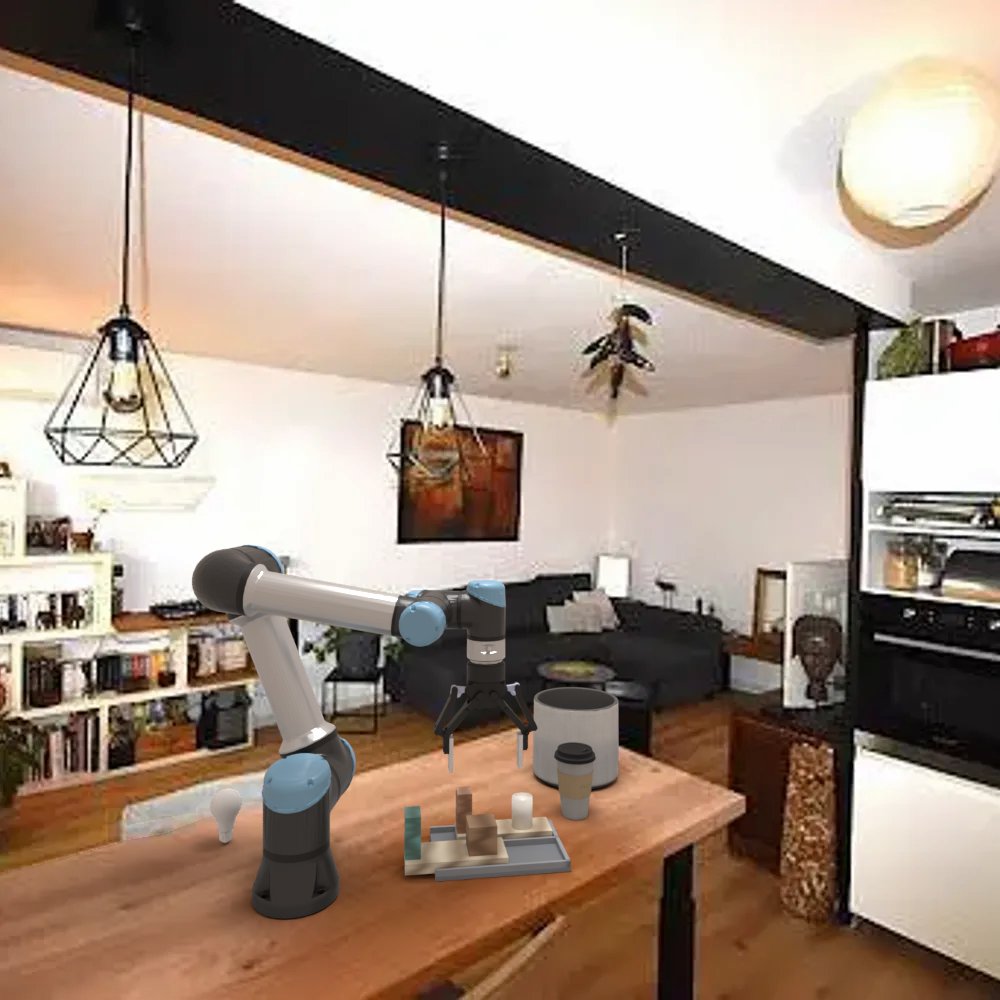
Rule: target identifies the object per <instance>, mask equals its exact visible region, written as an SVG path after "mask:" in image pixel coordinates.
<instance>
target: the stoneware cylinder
mask: <svg viewBox="0 0 1000 1000" xmlns="http://www.w3.org/2000/svg"><path fill="white" fill-rule="evenodd" d="M533 798H534V797H533V795H532V794H531V793H529V792H525V791H524V792H523V791H522V792H521V791H520V792H516V793H513V794H512V795H511V819H512V827H513V828H515V829H517V830H528V829H530V828H532V826H533V818H534V816H533V813H534V812H533V808H534V807H533V806H534V803H533V801H534V799H533Z"/></svg>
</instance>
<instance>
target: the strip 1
mask: <svg viewBox="0 0 1000 1000" xmlns="http://www.w3.org/2000/svg"><path fill="white" fill-rule="evenodd" d="M403 832H404V833H403V834H404V838H403V839H404V840H403V841H404V842H403V844H404V845H403V846H404V847H403V853H404V854H403V857H404V860H403V861H404V876H418V875H428V874H432V875H433V874H434V873H435V869H443V868H457V867H471V866H485V865H499V864H508V854H507V851H506V848H505V845H504V842H503V839H502V837H497V855H486V856H471V857H469V855H468V850H467V845H466V840H452V841H437V842H431V841H424V842H422V813H421V806H420V805H416V806H404V831H403Z"/></svg>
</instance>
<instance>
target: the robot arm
mask: <svg viewBox="0 0 1000 1000" xmlns="http://www.w3.org/2000/svg"><path fill="white" fill-rule="evenodd" d="M191 576H192V577H191V588H192V590H193V593H194V595H195V597H196V600H197V601H199V602H200V604H201V605H203V606H204V607H206V608H207V609H209V610H211V611H215V612H218V613H219V612H220V613H225V615H226V617H227V620H228V623H230V624H232V625H235V626H237V627H239V629H240V631H241V634H242V637H243V639H244V641H245V644H246V646H247V649H248V651H249V655H250V657H251V660H252V662H253V665H254V667H255V671H256V673H257V675H258V678H259V681H260V683H261V685H262V688H263V691H264V694H265V697H266V699H267V701H268V704H269V706H270V709H271V712H272V716H273V717H274V719H275V723H276V725H277V728H278V731H279V732H280V735H281V737H282V742H281V744H280V747H279V750H278V754H279V756H280V759H277V760H276V761H275V762H274V763H272V764H271V765H270V766H269V767H268V768H267V769H266V771H265V773H264V776H263V784H262V788H261V789H262V790H261V797H262V857H261V860H260V862H259V863H260V864H259V866H258V869H257V872H256V875H255V877H254V880H253V881H254V882H253V884H252V888H251V889H252V890H251V903H252V907H253V908H254V909H255V911H256V912H257V913H259V914H261V915H262V916H265V917H268V918H274V919H285V920H286V919H297V918H301V917H306V916H310V915H312V914H315V913H317V912H320V911H322V910H323V909H325V908H327V907H329V906H330V905H331V904H332V903H333V902H335V900H336V899H337V898H338V896H339V894H340V874H339V870H338V868H337V865H336V862H335V858H334V855H333V853H332V851H331V839H330V838H331V812H332V811H333V809H334V808H335V806H336V805H337V803H338V802H339V800H340V799H341V797H342V796H343V795H344V794H345V793H346V791H347V790H348V789H349V787H350V785H351V783H352V781H353V779H354V776H355V773H356V772H355V771H356V766H357V765H356V764H357V762H356V761H357V760H356V755H355V752H354V749H353V747H352V746H351V744H350V743H349V742H348V741H347V739H345V738H342V737H341V736H340V735H339V732H338V729H337V728H336V727H337V726H336V725H335V724H333V723H331V722H328V721H327V720H325V718H324V716H323V713H322V710H321V708H320V705H319V702H318V700H317V697H316V694H315V691H314V689H313V687H312V685H311V681H310V679H309V676H308V674H307V671H306V668H305V665H304V664H303V659H302V658H301V656H300V652H299V651H298V648H297V645H296V643H295V639H294V637H293V635H292V632H291V629H290V627H289V625H288V622H287V618H288V619H293V620H294V619H295V620H300V621H306V622H311V623H315V624H316V623H317V624H322V625H328V626H332V627H339V628H344V629H350V630H354V631H355V630H356V631H361V632H367V633H372V634H378V635H383V636H389V637H395V638H397V639H403V640H405V642H406V643H408V644H410V645H411V646H414V647H426V646H429V645H431V644H432V643H435V642H436V641H437V640H439V639H440V637H441V636H442V635H443V634H444V631H445V630H466V632H467V634H466V642H467V643H466V657H467V659H468V661H467V662H466V684H465V685H457V684H456V683H453V684H451V685H450V690H449V695H448V698H447V700H446V701H445V704H444V706H443V708H442V709H441V712H440V714H439V716H438V718H437V720H436V722H435V723H434V724H435V725H434V726H433V733H434V735H435V736H440V737H442V752H443V755H447V758H448V759H447V760H448V761H447V762H448V763H447V768H448V772H449V774H450V773H454V735H453V733H454V732H455V730H457V728H458V727H459V725H460V724H461V723H463V720H465V718H466V717H467V716H468V715H469V714H470V713H472V711H473V710H474V709H475V708H477V709H478V710H483V709H486V708H487V709H490V710H491V709H495V708H496V707H499V708H500V709H501V710H502V711H503V712H504V714H506V715H507V717H508V718H509V719H510V720H511V722H512V723H513V724H514V725H515V726H516V727H517V728H518V730H517V731H516V766H517V768H518V770H523V768H524V767H523V766H524V764H523V763H524V757H523V756H524V751H528V749H529V735H530V733H532V732H534V731H536V730H537V728H538V727H537V725H536V723H535V721H534V716H533V715H532V713H531V711H530V709H529V707H528V704H527V703H526V701H525V699H524V697H523V692H522V686H521V684H520V683H519V682H518V681H514V682H513V683H511V684H507V683H506V662H505V660H504V659H505V658H506V621H507V620H506V619H507V617H506V615H507V614H506V612H507V610H506V609H507V603H506V586H505V585H504V583H503V582H501V581H499V580H495V579H482V580H481V579H477V580H476V579H475V580H470V581H468V582H467V586H466V590H432V589H431V590H430V589H420V590H419V589H418V590H411V591H409V592H408V593H407V594H406V595H401V594H398V593H391V592H387V591H382V590H375V589H370V588H364V587H360V586H359V587H358V586H353V585H347V584H342V583H336V582H331V581H326V580H325V581H324V580H319V579H316V578H309V577H304V576H303V577H301V576H297V575H293V574H292V575H291V574H286V573H284V568H283V564H282V562H281V560H280V559H279V557H278V556H277V555H276V553H274V552H273V551H272V550H270V549H268V548H266V547H263V546H260V545H253V544H243V545H239V546H235V547H234V546H233V547H229V548H223V549H217V550H214V551H211V552H209V553H208V554H206V555H204V556H203V557H202V558H201V559H200V560H199V562H197V564H196V565H195V568H194V570H193V572H192V575H191ZM508 692H510V694H511V695H512V696H513V697H515V699H516V702H517V703H518V706H519V708H520V709H521V711H522V713H523V716H524V717H525V719H526V722H527V724H525V723H524V722H523V721H522V720H521V719H520V717H519V716H518V715H517V714H516V713H515V711H513V709H512V708H511V707H510V706H509V705H508V703H507V702H506V701H505V700H504V698H505V697H506V695H507V693H508ZM462 694H465V696H466V697H467V699H466V700H465V702H464V703H463V705H462V706H461V708H459V710H458V711H457V712H456V713H455V714H454V715H453V717H452V718H451V719H450V721H449V722H448V723H447V721H448V718H449V716H450V714H451V712H452V711H453V709H454V706H455V704H456V702H457V699H459V698H460V697H461V696H462ZM446 723H447V724H446Z"/></svg>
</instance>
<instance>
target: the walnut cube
mask: <svg viewBox="0 0 1000 1000" xmlns="http://www.w3.org/2000/svg"><path fill="white" fill-rule="evenodd" d="M496 820H497V819H496V818H495V815H494V813H483V814H481V813H480V814H479V813H478V814H472V815H466V845H467V850H468V855H469V857H471V856H486V855H497V832H498V826H497V823H496Z"/></svg>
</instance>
